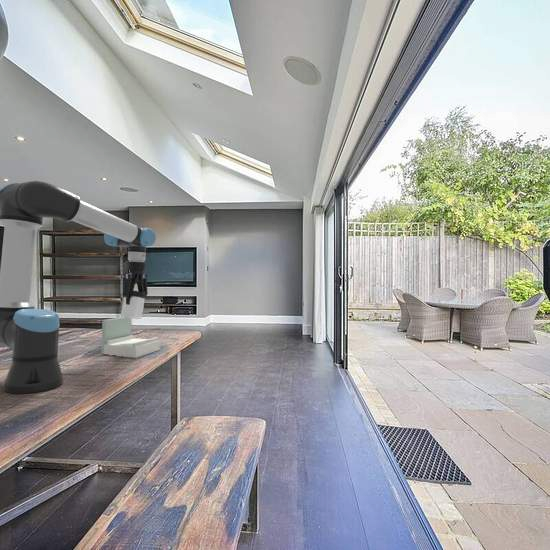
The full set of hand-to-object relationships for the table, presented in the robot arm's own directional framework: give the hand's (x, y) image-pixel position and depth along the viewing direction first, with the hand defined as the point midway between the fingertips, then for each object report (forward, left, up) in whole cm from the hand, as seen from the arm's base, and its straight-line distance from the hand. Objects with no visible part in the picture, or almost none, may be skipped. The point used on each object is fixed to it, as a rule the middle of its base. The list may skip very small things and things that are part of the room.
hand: (135, 311), depth 159 cm
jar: (-3, 0, -3) cm, 4 cm away
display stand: (0, 0, -19) cm, 19 cm away
